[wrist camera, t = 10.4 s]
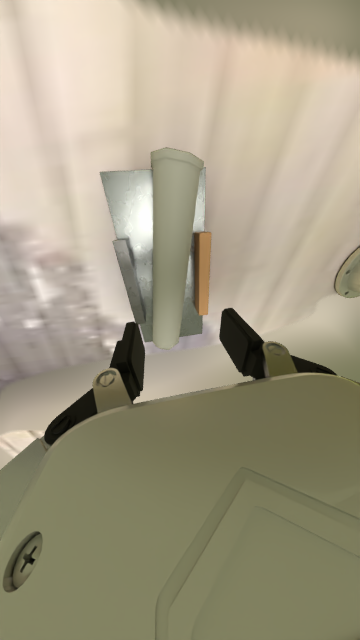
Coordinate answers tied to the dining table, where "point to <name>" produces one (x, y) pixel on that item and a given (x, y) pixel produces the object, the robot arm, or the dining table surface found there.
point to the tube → (172, 237)
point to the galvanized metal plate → (147, 245)
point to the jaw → (202, 270)
